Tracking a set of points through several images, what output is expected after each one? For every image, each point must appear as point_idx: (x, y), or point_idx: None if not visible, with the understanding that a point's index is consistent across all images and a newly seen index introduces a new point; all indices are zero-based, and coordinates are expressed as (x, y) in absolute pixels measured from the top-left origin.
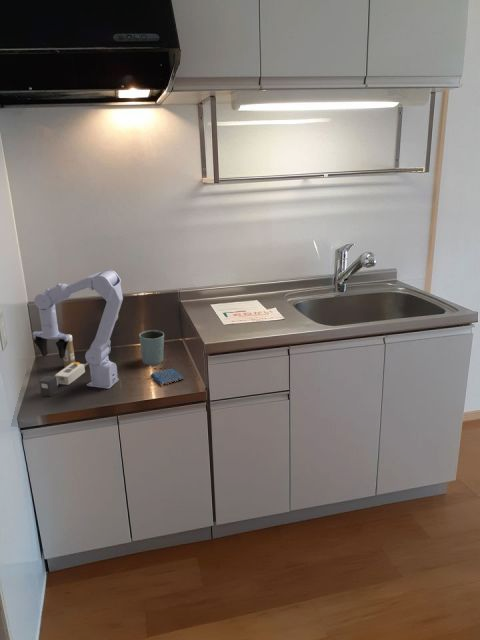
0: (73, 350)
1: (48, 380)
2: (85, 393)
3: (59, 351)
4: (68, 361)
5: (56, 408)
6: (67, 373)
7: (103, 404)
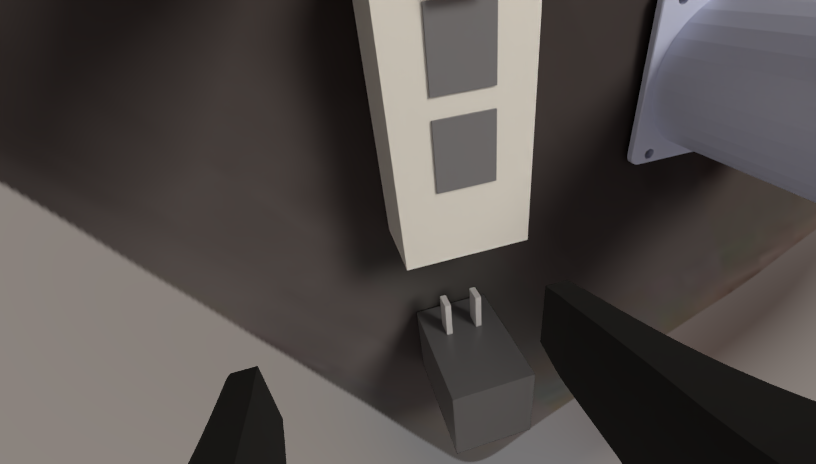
0: None
1: (516, 423)
2: (645, 230)
3: (632, 457)
4: None
5: None
6: (492, 195)
7: (756, 262)
